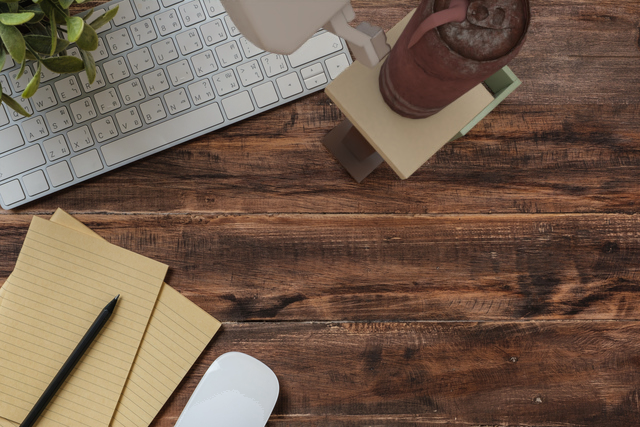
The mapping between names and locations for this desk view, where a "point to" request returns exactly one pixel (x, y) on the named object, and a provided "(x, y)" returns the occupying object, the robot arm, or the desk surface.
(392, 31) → the beige square panel
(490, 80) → the holder
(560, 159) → the desk surface
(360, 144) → the post
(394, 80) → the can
